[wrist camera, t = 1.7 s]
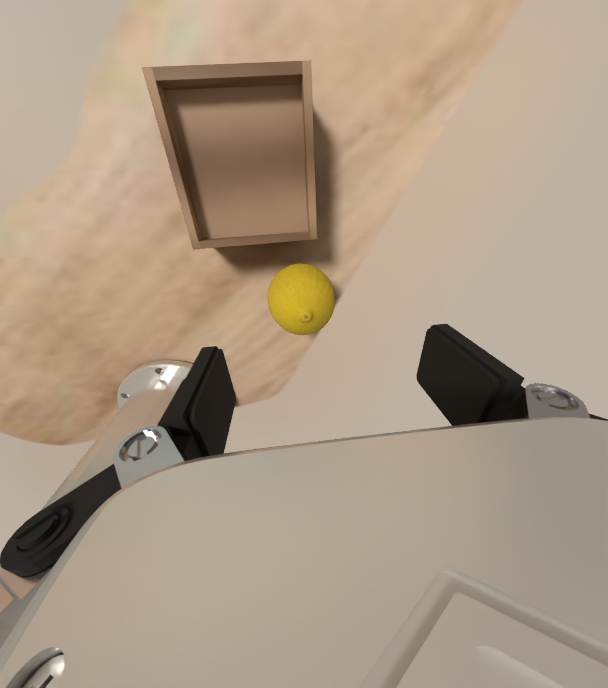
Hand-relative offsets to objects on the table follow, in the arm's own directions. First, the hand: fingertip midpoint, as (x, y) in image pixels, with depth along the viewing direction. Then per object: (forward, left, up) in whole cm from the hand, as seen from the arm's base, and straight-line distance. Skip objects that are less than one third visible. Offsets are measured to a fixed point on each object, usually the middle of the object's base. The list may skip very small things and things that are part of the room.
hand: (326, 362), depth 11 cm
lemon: (0, 0, -14) cm, 14 cm away
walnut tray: (+9, +3, -14) cm, 17 cm away
